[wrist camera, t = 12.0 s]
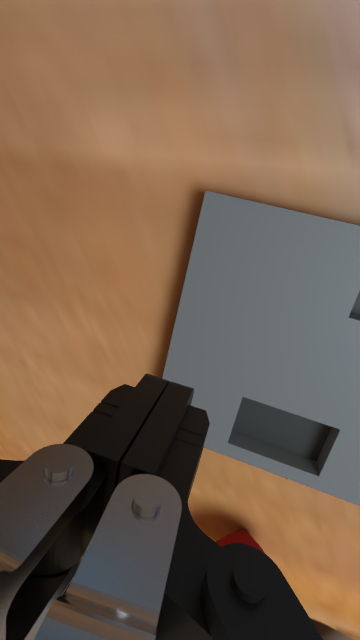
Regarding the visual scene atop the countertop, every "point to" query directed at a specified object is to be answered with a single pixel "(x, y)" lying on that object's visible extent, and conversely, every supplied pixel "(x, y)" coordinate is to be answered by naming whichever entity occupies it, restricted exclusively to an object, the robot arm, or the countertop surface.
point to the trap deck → (274, 340)
